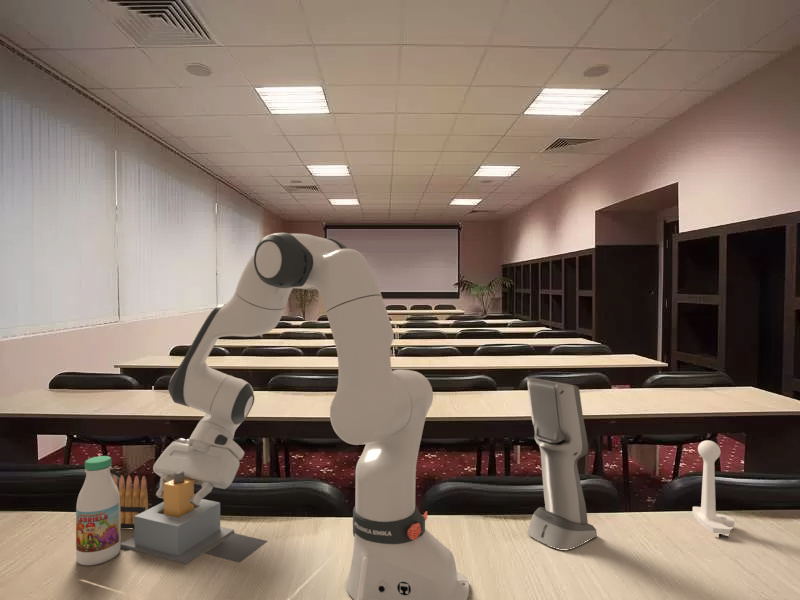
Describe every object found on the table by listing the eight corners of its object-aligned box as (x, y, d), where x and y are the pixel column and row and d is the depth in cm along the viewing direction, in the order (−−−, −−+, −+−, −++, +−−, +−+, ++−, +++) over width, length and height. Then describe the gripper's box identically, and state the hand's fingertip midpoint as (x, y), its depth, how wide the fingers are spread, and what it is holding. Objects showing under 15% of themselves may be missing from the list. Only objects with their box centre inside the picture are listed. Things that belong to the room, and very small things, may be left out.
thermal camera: (519, 532, 111) (520, 377, 110) (554, 517, 118) (556, 372, 118) (563, 555, 101) (565, 386, 101) (599, 537, 109) (601, 379, 108)
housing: (234, 533, 110) (234, 503, 110) (185, 565, 97) (185, 531, 97) (173, 519, 117) (172, 490, 116) (120, 547, 104) (119, 515, 103)
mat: (267, 542, 106) (267, 540, 106) (239, 563, 98) (239, 562, 98) (234, 534, 109) (234, 533, 109) (204, 554, 101) (204, 553, 101)
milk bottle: (79, 551, 102) (79, 455, 102) (122, 543, 105) (121, 450, 105) (73, 570, 95) (72, 467, 95) (118, 561, 98) (118, 462, 98)
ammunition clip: (150, 526, 113) (150, 474, 113) (145, 530, 111) (145, 477, 111) (105, 524, 114) (105, 473, 114) (100, 528, 112) (100, 476, 112)
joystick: (687, 515, 120) (688, 433, 119) (721, 517, 118) (722, 435, 118) (708, 537, 109) (709, 447, 108) (746, 540, 107) (747, 449, 107)
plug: (193, 533, 108) (193, 470, 108) (178, 543, 104) (178, 477, 104) (179, 530, 109) (179, 468, 109) (163, 539, 106) (163, 474, 105)
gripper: (167, 430, 117) (132, 486, 108) (237, 440, 109) (205, 501, 100) (182, 444, 121) (149, 499, 112) (250, 454, 113) (220, 514, 104)
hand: (176, 500), depth 106 cm, fingers open, 8 cm apart
